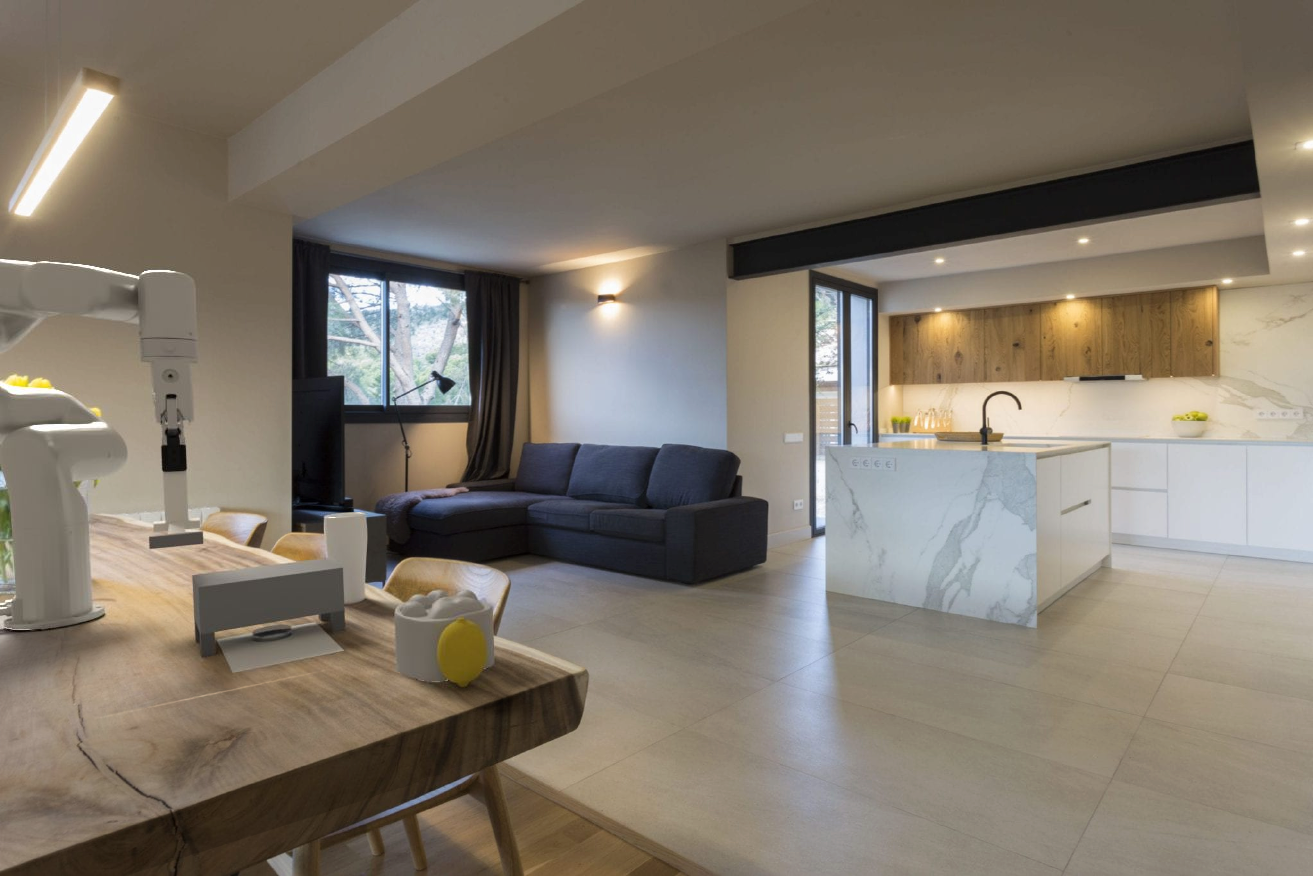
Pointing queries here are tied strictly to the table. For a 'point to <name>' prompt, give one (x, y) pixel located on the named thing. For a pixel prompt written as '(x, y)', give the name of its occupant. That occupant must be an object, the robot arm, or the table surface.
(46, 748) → the table surface
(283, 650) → the mat
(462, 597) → the lumpy-topped squat cylinder
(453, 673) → the lemon
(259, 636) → the disc
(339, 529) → the drinking glass
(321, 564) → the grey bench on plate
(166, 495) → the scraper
